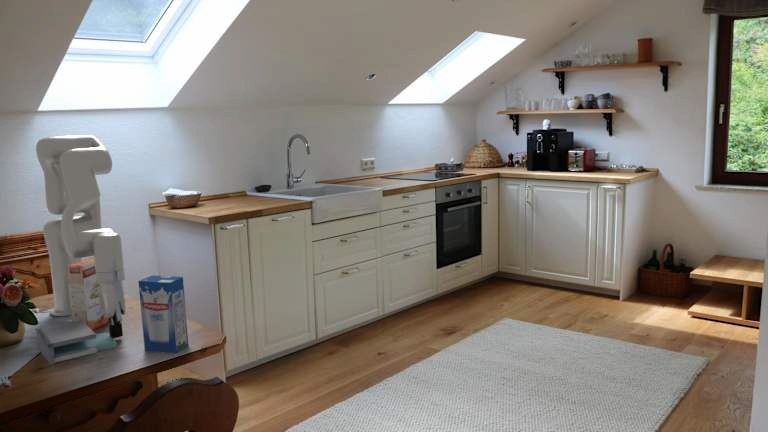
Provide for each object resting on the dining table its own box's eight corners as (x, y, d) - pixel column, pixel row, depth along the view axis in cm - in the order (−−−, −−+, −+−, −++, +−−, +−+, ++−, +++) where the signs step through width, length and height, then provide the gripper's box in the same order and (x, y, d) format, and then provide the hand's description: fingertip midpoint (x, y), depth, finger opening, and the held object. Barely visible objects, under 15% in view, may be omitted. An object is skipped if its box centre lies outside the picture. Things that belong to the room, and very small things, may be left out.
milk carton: (188, 345, 185) (183, 276, 182) (176, 353, 179) (170, 282, 176) (157, 343, 188) (151, 275, 184) (144, 351, 182) (138, 281, 179)
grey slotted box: (38, 348, 186) (35, 329, 185) (83, 338, 193) (81, 319, 193) (50, 364, 174) (47, 344, 173) (97, 353, 181) (95, 333, 180)
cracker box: (89, 333, 198) (82, 266, 194) (72, 332, 199) (64, 265, 195) (117, 318, 211) (111, 255, 208) (100, 318, 212) (94, 255, 209)
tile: (47, 352, 185) (46, 345, 184) (106, 338, 194) (106, 332, 194) (55, 362, 177) (54, 355, 177) (116, 347, 187) (116, 341, 186)
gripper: (89, 273, 192) (95, 333, 195) (104, 283, 180) (110, 346, 183) (116, 268, 197) (121, 327, 200) (131, 278, 185) (137, 340, 188)
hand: (116, 336), depth 191 cm, fingers closed
